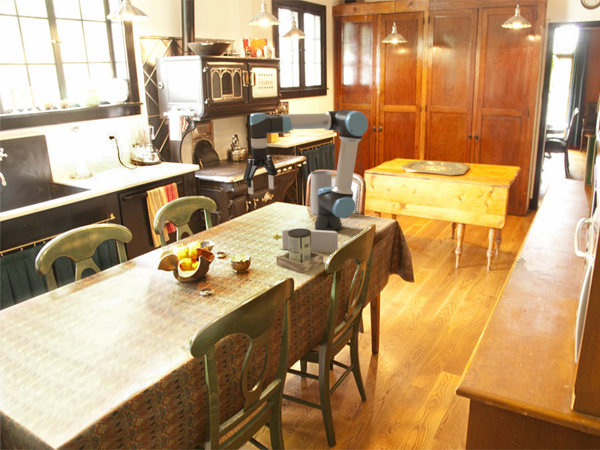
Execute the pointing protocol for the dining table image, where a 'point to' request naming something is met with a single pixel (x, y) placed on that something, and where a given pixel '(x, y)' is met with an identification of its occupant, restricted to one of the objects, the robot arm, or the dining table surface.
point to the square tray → (300, 267)
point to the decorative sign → (315, 240)
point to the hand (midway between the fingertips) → (261, 191)
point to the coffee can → (299, 245)
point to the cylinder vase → (319, 186)
